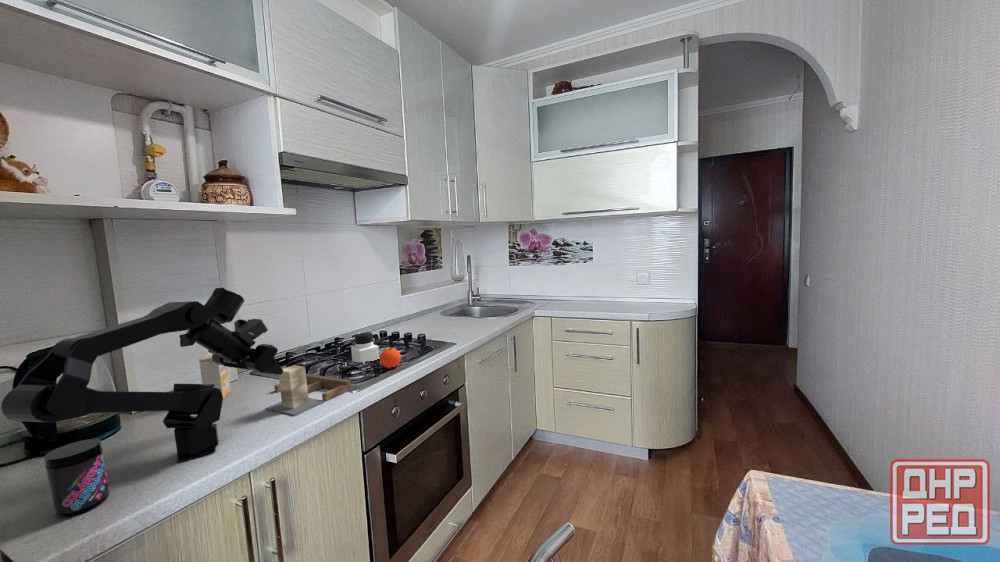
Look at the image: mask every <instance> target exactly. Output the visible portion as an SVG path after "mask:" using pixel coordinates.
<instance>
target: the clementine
mask: <svg viewBox="0 0 1000 562" xmlns="http://www.w3.org/2000/svg"><path fill="white" fill-rule="evenodd" d="M401 359H402V356H401V353H400V351H399V350H397V348H394V347H386V348H383V350H382V352H381V353H380V365H382V366H383V367H384V368H386V367H387V368H386V369H391V368H390V367H394V368H396V367H397V366H399V364H400V363H401ZM395 366H396V367H395Z"/></svg>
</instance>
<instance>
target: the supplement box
mask: <svg viewBox="0 0 1000 562" xmlns="http://www.w3.org/2000/svg"><path fill="white" fill-rule="evenodd" d="M212 355H213V354H211V353H209V352H208V353H206V354H204V355H203V356H202V357H200V358H199V359H198V362H199V369H200V375H201V376H200V377H201V384H214V387H213V388H219V389H220V390H221V393H222V396H223V400H224V399H225V398H226V396H227V395H228V394H229V393H230V392H231V383H230V375H229V367H226V366H223V365H218V364H217V363H215V362H213V361H212Z"/></svg>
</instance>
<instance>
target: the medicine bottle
mask: <svg viewBox="0 0 1000 562" xmlns="http://www.w3.org/2000/svg"><path fill="white" fill-rule="evenodd" d="M373 335H374V334H373V333H372V332H370V331H362V332H359V333H357V334H355V335H354V342H355V344H354V345H355V346H352V347H350V350H351V361H352V362H353V361H355V362H366V361H374V360H377V359H380V356H381V354H380V347H379V345H377V344H374V336H373Z"/></svg>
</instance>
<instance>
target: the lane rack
mask: <svg viewBox="0 0 1000 562" xmlns="http://www.w3.org/2000/svg"><path fill="white" fill-rule="evenodd" d="M306 381H307V389H308V395H309V394H311V393H313V392H316V391H318V390H320V388H321V389H327V388H330V389H328V391H326V392H323V393H321V398H322V399H321V400H323V401H325V402H328V401H330V399H331V400H332V399H333V400H334V399H335V398H336V397H339V396H341V395H343V394H346V393H347V391H348V390H349V389H350V388H351V387H352V382H351V380H350V379H344V378H337V377H331V376H324V375H317V374H312V373H311V374H310V373H306ZM322 387H324V388H322ZM352 388H353V387H352ZM274 392H275V393H281V390H280V382H279V383H277V384H274ZM345 392H346V393H345ZM348 392H349V391H348Z"/></svg>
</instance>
